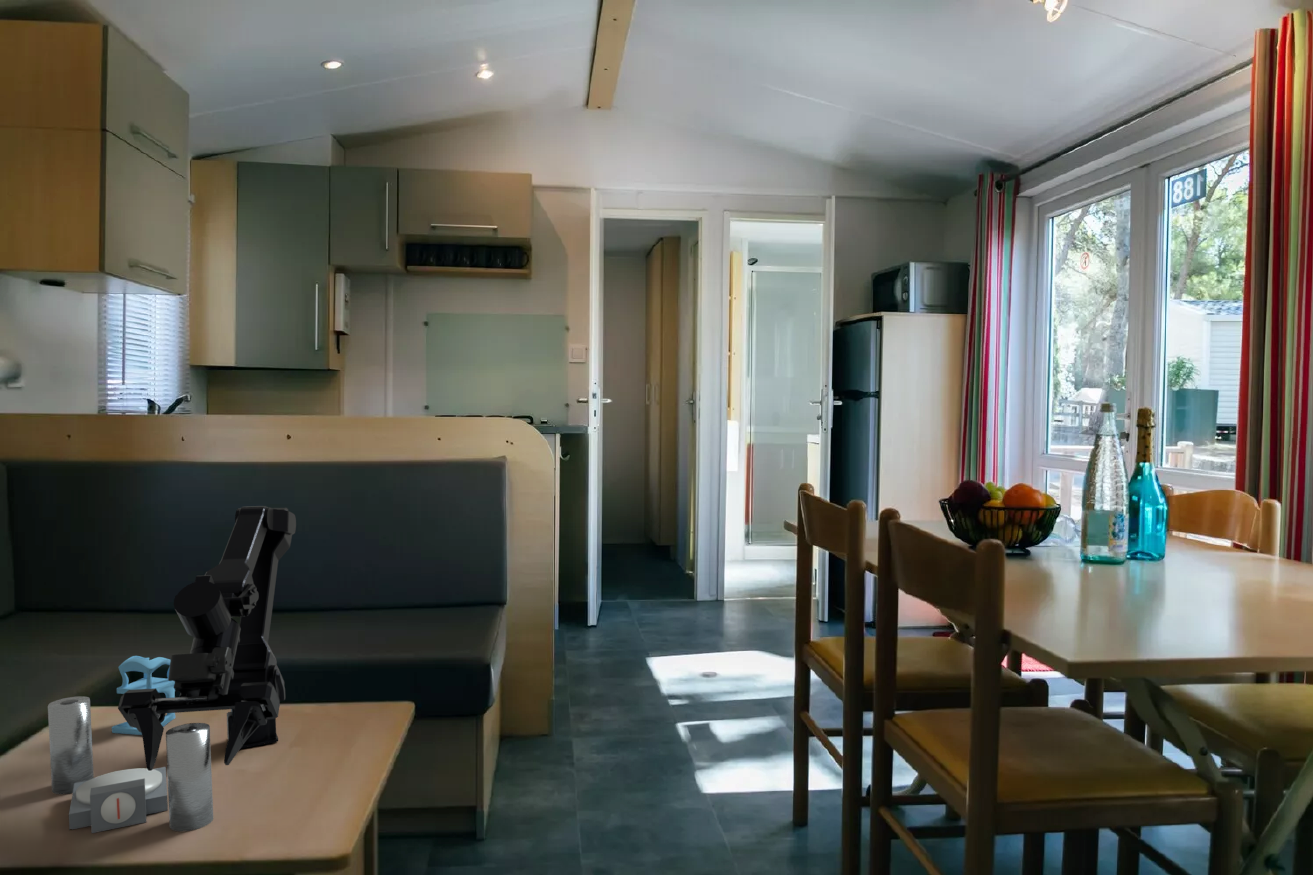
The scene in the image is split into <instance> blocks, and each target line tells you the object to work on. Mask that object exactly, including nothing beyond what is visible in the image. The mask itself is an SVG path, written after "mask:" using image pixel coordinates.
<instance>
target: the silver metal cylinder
mask: <svg viewBox="0 0 1313 875" xmlns="http://www.w3.org/2000/svg"><path fill="white" fill-rule="evenodd" d="M165 748H166V749H165V750H166V765H167V766H166V767H167V768H166V776H167V799H168V816H169V817H168V818H169V829H170V830H172V831H174V832H189V831H194V830H195V831H196V830H198V829H202V828H203V827H204V828H205V827H206V826H208V825H209V824H211V823H212V822H213V820H214V803H213V777H212V775H213V774H212V755H211V754H212V752H211V728H210V724H208V723H205V722H191V723H183V724H180V725H179V724H178V725H176V726H174V727H171V728H169V729H168V730H166V732H165Z"/></svg>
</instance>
